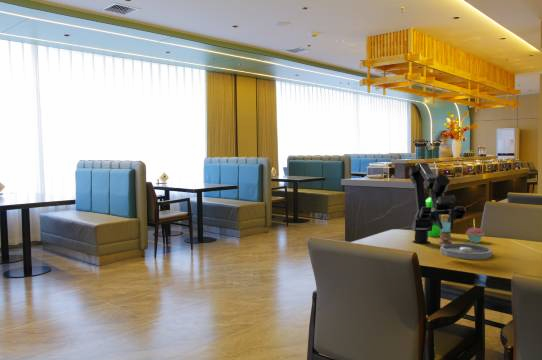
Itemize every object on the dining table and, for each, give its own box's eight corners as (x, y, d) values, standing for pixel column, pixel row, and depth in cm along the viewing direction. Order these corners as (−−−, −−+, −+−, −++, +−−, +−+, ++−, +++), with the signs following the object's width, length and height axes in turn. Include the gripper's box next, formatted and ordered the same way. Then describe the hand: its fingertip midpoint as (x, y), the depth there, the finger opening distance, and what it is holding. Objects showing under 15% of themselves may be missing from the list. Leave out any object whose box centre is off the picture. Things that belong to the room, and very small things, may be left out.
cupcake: (463, 240, 234) (463, 217, 234) (479, 239, 234) (480, 216, 234) (470, 243, 226) (471, 219, 225) (487, 243, 226) (488, 219, 225)
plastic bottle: (433, 238, 239) (434, 191, 238) (419, 234, 249) (419, 189, 247) (447, 236, 244) (448, 190, 242) (432, 233, 253) (433, 188, 251)
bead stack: (443, 241, 199) (444, 217, 198) (454, 243, 194) (454, 218, 194) (436, 242, 196) (436, 218, 195) (446, 245, 191) (447, 219, 191)
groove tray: (458, 246, 219) (458, 241, 219) (501, 254, 202) (501, 249, 201) (430, 252, 207) (431, 246, 207) (473, 261, 190) (473, 255, 190)
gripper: (421, 188, 197) (429, 217, 187) (464, 188, 197) (474, 217, 187) (415, 204, 206) (423, 232, 196) (457, 204, 206) (466, 232, 195)
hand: (446, 228), depth 193 cm, fingers closed on bead stack, 4 cm apart
